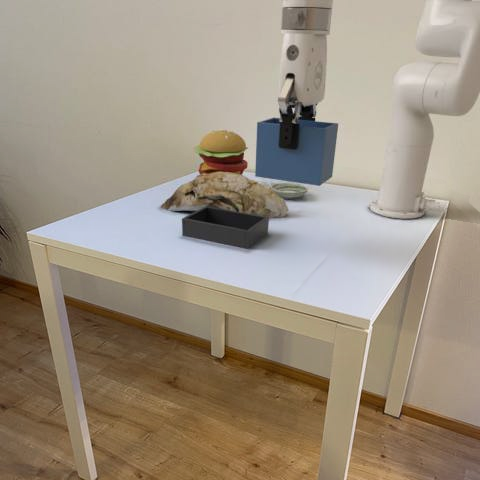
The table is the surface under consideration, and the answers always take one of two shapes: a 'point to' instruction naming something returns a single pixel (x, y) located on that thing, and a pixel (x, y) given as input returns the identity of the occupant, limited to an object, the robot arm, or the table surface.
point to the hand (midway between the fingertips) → (296, 143)
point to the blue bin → (296, 152)
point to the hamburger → (222, 152)
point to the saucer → (289, 190)
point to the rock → (227, 195)
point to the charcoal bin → (225, 227)
